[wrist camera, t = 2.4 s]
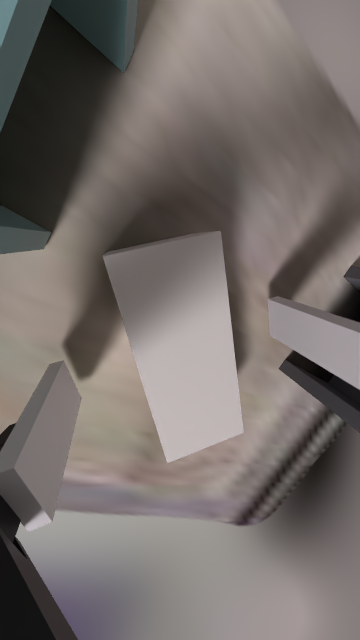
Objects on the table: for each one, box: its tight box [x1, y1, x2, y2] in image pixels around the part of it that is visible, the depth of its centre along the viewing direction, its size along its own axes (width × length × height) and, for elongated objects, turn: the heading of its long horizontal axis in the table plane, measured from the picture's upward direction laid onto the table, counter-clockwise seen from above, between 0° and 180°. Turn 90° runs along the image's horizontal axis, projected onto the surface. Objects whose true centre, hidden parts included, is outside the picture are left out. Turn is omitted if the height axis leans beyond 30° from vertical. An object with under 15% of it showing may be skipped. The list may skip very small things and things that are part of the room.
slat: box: [103, 231, 244, 463], centre depth 13 cm, size 12×5×4 cm, turn 11°
